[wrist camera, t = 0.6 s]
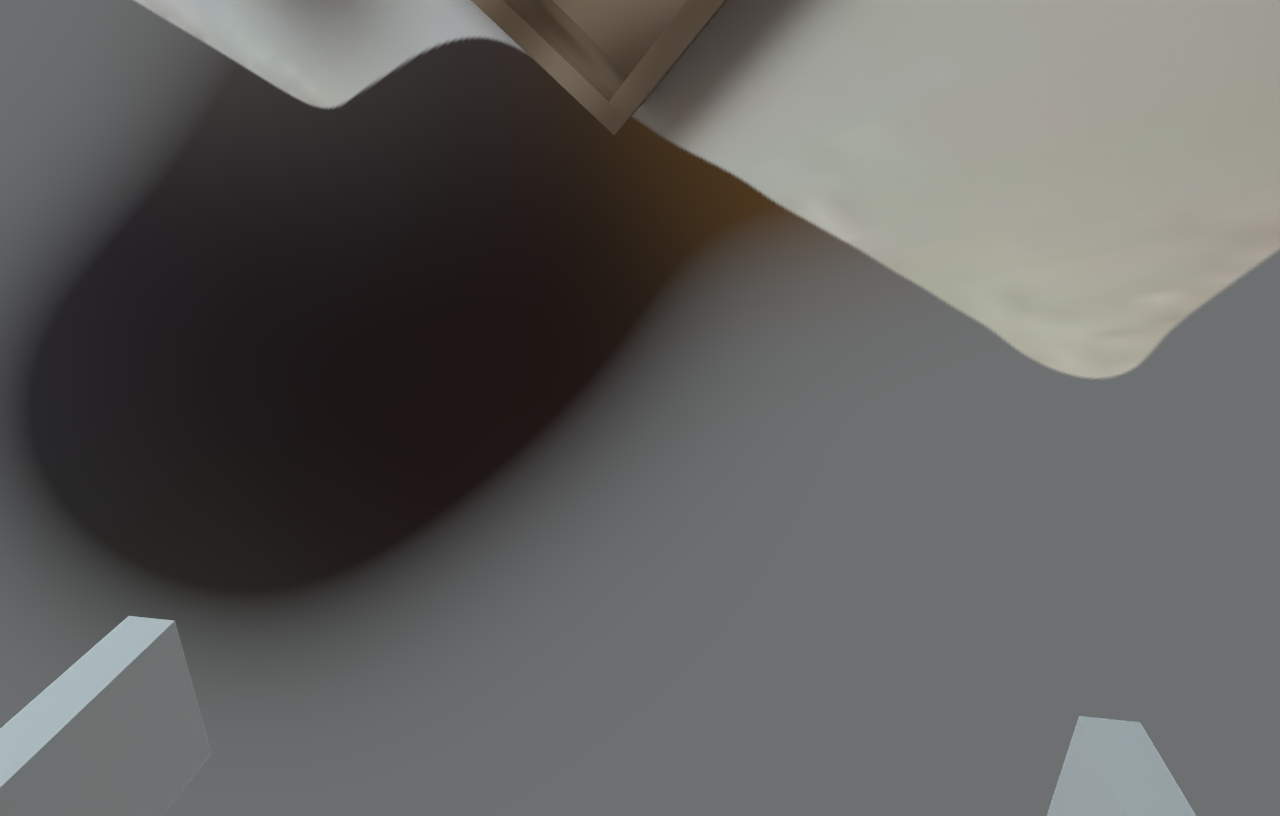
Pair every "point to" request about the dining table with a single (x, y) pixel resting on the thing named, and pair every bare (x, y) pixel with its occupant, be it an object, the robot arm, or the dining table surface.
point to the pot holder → (604, 45)
